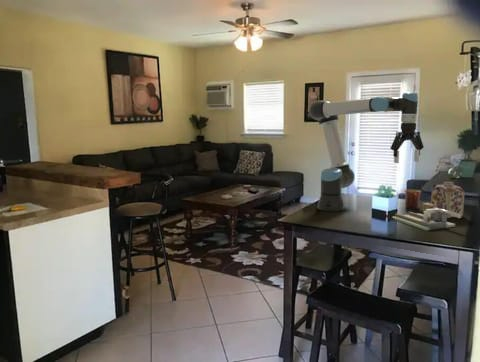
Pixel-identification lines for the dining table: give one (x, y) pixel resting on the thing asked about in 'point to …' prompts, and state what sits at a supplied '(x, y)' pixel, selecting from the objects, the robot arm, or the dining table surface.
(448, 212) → the white arched piece
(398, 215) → the pitch
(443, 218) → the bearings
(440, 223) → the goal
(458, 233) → the dining table surface
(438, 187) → the decorative jar
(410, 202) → the mug
